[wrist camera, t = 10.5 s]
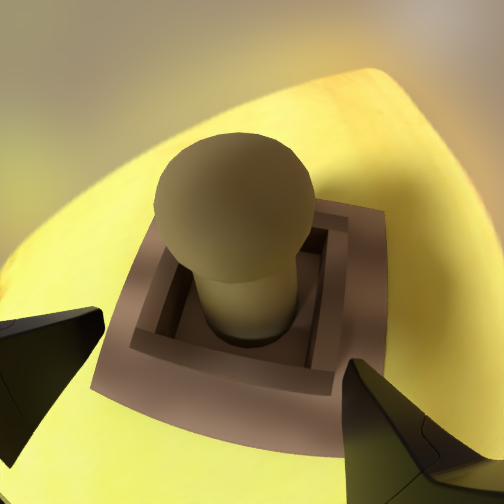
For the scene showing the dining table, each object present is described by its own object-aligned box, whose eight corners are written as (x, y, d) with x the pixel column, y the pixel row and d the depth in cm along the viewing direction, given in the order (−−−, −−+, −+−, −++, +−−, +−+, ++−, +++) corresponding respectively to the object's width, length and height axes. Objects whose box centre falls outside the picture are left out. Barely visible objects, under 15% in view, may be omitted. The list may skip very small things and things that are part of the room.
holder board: (361, 454, 12) (386, 467, 9) (97, 389, 15) (62, 383, 11) (380, 218, 21) (396, 186, 17) (175, 188, 23) (163, 155, 20)
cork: (196, 269, 18) (134, 133, 9) (283, 249, 18) (294, 101, 9) (211, 358, 15) (120, 284, 6) (310, 334, 15) (376, 225, 6)
